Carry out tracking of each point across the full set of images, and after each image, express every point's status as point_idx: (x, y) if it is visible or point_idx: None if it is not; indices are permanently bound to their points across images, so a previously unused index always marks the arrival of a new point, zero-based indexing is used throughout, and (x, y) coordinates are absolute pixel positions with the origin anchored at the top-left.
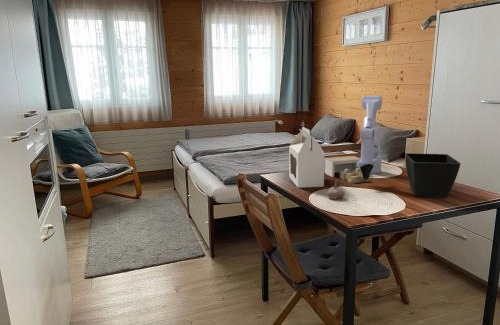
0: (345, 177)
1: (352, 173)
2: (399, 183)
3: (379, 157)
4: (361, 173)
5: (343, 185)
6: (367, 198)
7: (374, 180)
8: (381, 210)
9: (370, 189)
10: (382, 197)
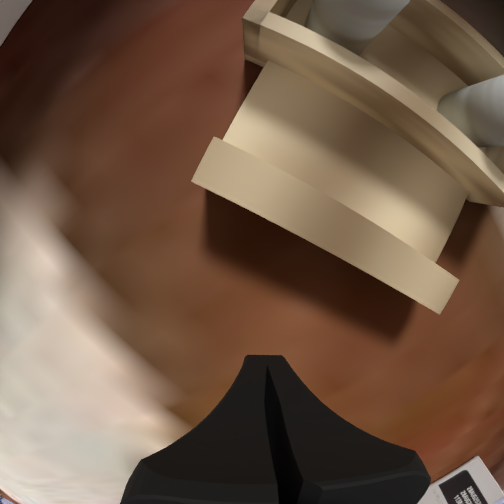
0: (254, 46)
1: (371, 83)
2: (446, 445)
3: None
4: (478, 174)
5: (65, 187)
6: (29, 450)
7: (460, 302)
8: (15, 492)
9: (159, 429)
10: (101, 495)
